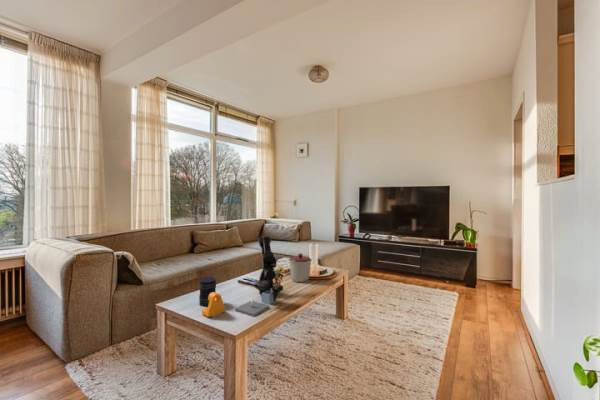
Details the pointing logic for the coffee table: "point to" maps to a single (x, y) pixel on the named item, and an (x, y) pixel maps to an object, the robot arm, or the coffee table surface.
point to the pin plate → (252, 308)
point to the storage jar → (206, 290)
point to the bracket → (214, 305)
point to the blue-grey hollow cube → (267, 297)
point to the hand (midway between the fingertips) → (268, 299)
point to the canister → (300, 268)
